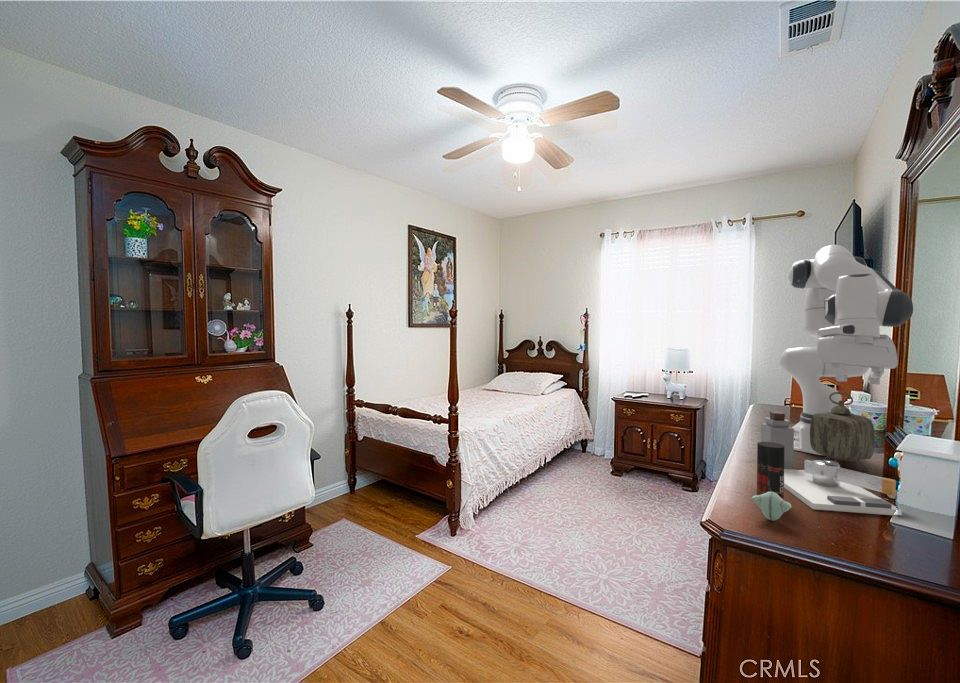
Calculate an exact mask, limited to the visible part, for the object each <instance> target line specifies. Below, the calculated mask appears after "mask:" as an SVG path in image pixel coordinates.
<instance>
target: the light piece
mask: <svg viewBox="0 0 960 683" xmlns="http://www.w3.org/2000/svg"><path fill="white" fill-rule="evenodd" d="M803 465H804V467H803V468H804V469H803V470H804V472H806V473H809V474H812V481H813V482H814V483H817V484H820V485H824V486H830V487H838V486H840V482H844V483H848V484H852V485H856V486H859V487H861V488H863V489H866V490H867V489H868V490H871V491H876V492H879V493H882V494H885V495H889V496H895V495H896V492H897V490H896V487H897V479H894V478H893V479H892V478H887V477H883V476H882V477H881V476H878V475H873V474H869V473H867V472H862V471H856V470H852V469H849V468H844V467H841V465H840V464H839V462H838V461H837V462H836V461H834V460H831V459H830V460H824V459H823V460H821V459H816V460H815V459H814V460H809V459H805V460H804V464H803Z"/></svg>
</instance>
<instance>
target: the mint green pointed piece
mask: <svg viewBox="0 0 960 683" xmlns="http://www.w3.org/2000/svg"><path fill="white" fill-rule="evenodd" d="M751 500H752V501H753V502H754V503H755V504H756V505H757V506H758V507H759V509H760V510H761V513H762V514H763V515H764V517H765V518H766V519H768V520H769V521H770V522H772V521H777V520H779V519H780V518H781V517H782V515H783V514H784V513H787V512H788V511H789V510H791V508H792V504H791V503H790V502H788V501H786V500H785V499H784V500H783V499H782V498H781V497H779V495H778V494H777V493H774V492H767V493H764V494H761V495H757V494H756V495H755V494H754V495H753V496H752V497H751Z"/></svg>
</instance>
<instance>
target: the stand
mask: <svg viewBox="0 0 960 683" xmlns="http://www.w3.org/2000/svg"><path fill="white" fill-rule="evenodd" d="M784 490H787V491H788V492H789V493H790V494H792V495H794V497H796V499H799V500H800V501H802V502H803V504H805V505H807V507H809V508H811V509H812V510H817V511H819V510H820V511H821V510H822V511H832V512H833V511H834V512H845V513H846V512H847V513H857V514H870V515H871V514H873V515H884V516H885V515H886V516H894V515H893V514H894V513H895V512H896V509H897V508H896V507H897V506H896V505H894V504H893V503H890V502H888V501H887V500H885V499H884V498H882V497H879V496H878V495H876V494H874V493H873V492H871V491H868V490H867V489H866V488H863V487H859V486H856V485H852V484H848V483H844V482H840V486H838V487H830V486H824V485H820V484H817V483H814V482H813V481H812V474H809V473H806V472H804V469H793V470H792V469H784Z"/></svg>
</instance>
